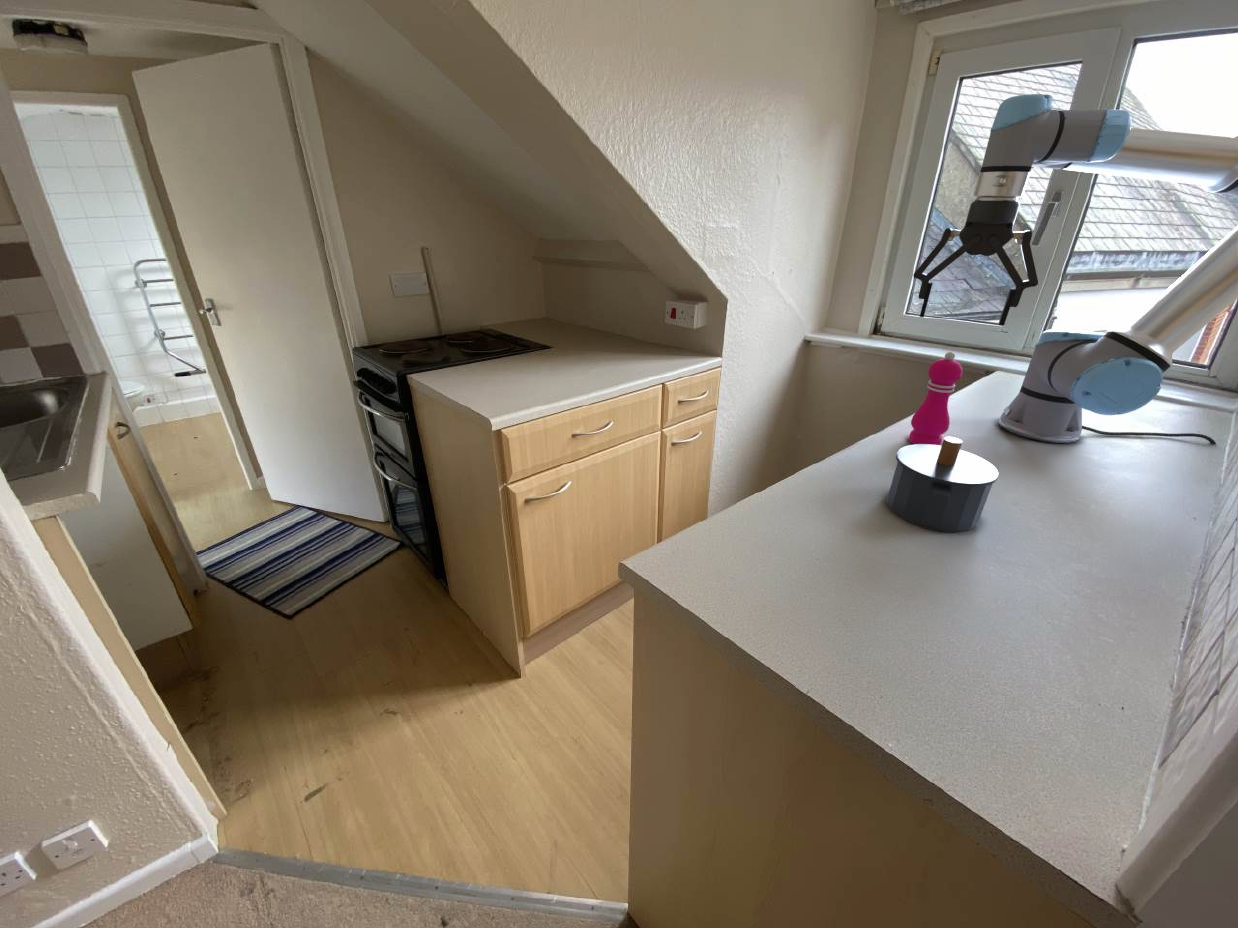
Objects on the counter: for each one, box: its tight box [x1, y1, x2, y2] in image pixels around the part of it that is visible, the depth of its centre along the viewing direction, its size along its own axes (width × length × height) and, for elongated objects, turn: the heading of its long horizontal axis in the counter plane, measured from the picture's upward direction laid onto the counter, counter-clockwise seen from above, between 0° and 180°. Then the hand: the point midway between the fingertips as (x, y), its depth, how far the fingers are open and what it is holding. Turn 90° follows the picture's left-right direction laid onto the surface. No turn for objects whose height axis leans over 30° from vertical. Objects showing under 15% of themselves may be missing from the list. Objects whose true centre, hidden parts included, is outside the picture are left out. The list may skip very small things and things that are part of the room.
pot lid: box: [895, 436, 1000, 487], centre depth 85 cm, size 15×15×5 cm
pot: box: [886, 461, 993, 533], centre depth 88 cm, size 14×19×8 cm
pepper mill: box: [908, 351, 963, 446], centre depth 112 cm, size 7×7×20 cm
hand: (960, 320), depth 104 cm, fingers open, 13 cm apart
